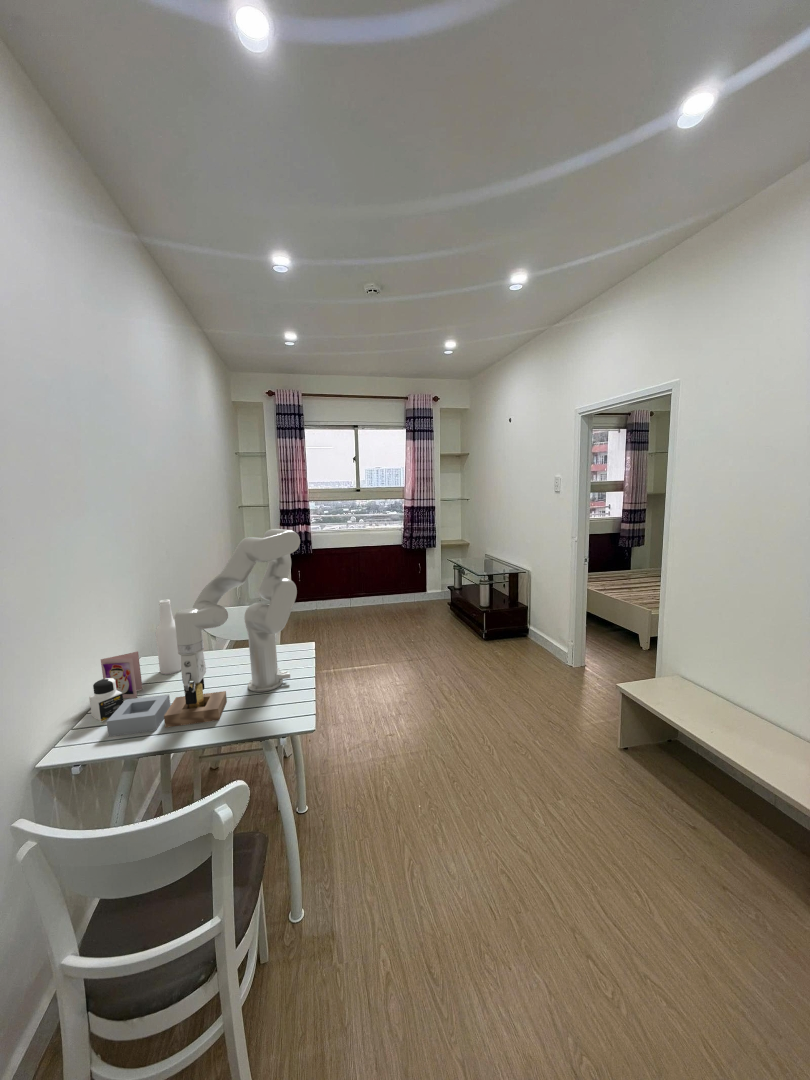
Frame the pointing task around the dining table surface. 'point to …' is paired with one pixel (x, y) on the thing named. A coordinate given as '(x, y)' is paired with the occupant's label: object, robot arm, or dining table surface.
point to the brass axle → (198, 696)
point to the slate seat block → (138, 715)
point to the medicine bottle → (105, 699)
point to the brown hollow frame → (195, 710)
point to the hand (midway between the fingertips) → (195, 696)
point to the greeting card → (124, 673)
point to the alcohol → (167, 641)
